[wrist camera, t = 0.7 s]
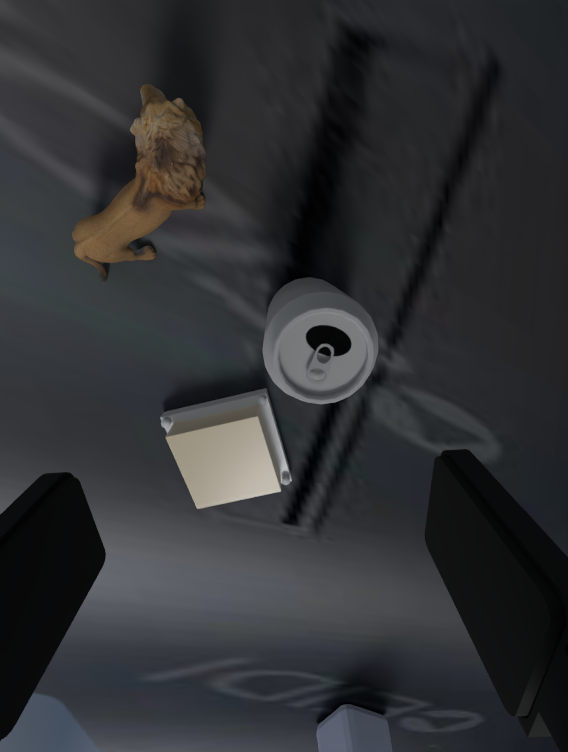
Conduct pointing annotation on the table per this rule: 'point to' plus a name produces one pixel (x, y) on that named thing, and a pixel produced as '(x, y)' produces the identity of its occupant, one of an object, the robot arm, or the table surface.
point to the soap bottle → (354, 731)
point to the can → (318, 342)
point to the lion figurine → (148, 183)
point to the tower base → (228, 448)
